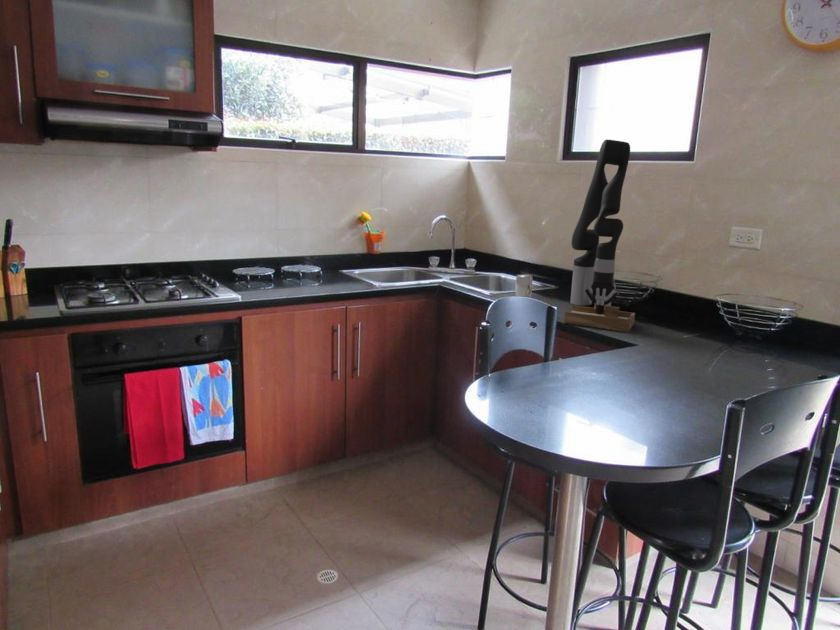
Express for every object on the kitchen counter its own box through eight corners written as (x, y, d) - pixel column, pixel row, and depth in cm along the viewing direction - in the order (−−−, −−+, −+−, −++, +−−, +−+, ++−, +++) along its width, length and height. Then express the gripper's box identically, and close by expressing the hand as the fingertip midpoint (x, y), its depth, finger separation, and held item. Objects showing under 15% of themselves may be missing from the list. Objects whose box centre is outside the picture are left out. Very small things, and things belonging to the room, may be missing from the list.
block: (606, 315, 241) (607, 305, 241) (618, 317, 239) (619, 307, 239) (604, 317, 238) (605, 307, 237) (616, 319, 236) (617, 309, 235)
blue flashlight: (512, 312, 254) (515, 276, 251) (514, 308, 261) (516, 273, 257) (529, 313, 253) (532, 277, 249) (531, 310, 259) (533, 275, 256)
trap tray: (572, 316, 250) (573, 305, 249) (633, 324, 240) (635, 312, 239) (563, 323, 237) (564, 312, 236) (628, 331, 227) (629, 320, 226)
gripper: (623, 270, 237) (618, 314, 241) (588, 267, 243) (584, 310, 247) (620, 273, 231) (615, 318, 235) (584, 269, 236) (580, 313, 240)
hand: (599, 314), depth 241 cm, fingers closed
